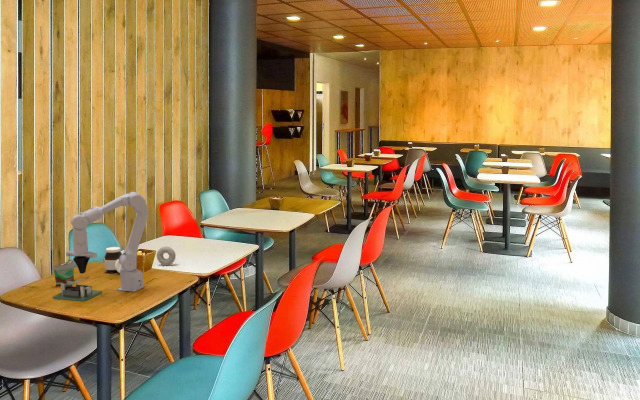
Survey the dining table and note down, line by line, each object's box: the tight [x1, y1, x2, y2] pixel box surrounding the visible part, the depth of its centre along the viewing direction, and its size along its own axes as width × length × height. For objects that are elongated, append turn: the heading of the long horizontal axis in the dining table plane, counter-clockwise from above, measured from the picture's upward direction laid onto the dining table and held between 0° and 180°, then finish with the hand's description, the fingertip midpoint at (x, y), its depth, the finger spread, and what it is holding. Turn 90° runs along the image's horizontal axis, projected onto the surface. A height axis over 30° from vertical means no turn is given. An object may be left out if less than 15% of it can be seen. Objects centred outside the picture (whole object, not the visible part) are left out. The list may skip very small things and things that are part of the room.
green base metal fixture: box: [52, 281, 103, 302], centre depth 262 cm, size 16×12×6 cm
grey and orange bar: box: [66, 276, 90, 286], centre depth 261 cm, size 12×2×1 cm, turn 72°
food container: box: [52, 259, 76, 287], centre depth 280 cm, size 12×6×10 cm, turn 168°
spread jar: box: [103, 246, 123, 274], centre depth 300 cm, size 12×11×12 cm
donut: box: [156, 246, 176, 266], centre depth 311 cm, size 10×4×10 cm, turn 86°
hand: (82, 272), depth 261 cm, fingers closed
